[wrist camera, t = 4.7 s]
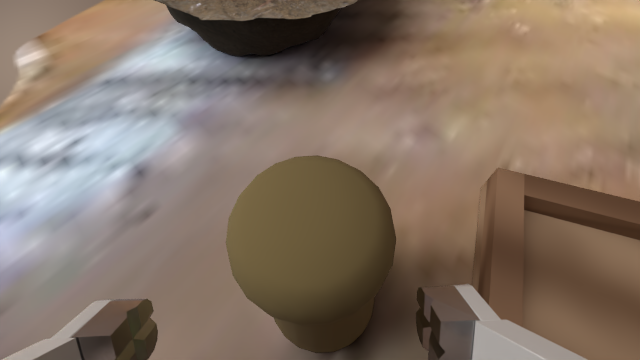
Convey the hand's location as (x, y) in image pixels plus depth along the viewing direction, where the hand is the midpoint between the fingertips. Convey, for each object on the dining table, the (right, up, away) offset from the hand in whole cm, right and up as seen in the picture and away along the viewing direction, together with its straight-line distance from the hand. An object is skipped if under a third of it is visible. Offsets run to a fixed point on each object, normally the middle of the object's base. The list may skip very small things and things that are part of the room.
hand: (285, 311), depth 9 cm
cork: (+1, -3, +8) cm, 9 cm away
